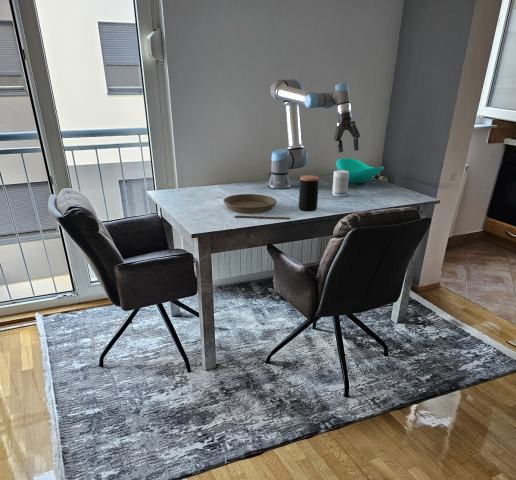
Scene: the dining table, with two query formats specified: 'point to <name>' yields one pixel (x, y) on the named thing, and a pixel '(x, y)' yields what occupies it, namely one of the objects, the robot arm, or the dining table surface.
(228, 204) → the plant saucer
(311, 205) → the coffee jar
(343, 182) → the supplement tub
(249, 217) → the walnut ruler
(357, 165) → the table top decor
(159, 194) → the dining table surface
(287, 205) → the dining table surface
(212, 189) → the dining table surface
